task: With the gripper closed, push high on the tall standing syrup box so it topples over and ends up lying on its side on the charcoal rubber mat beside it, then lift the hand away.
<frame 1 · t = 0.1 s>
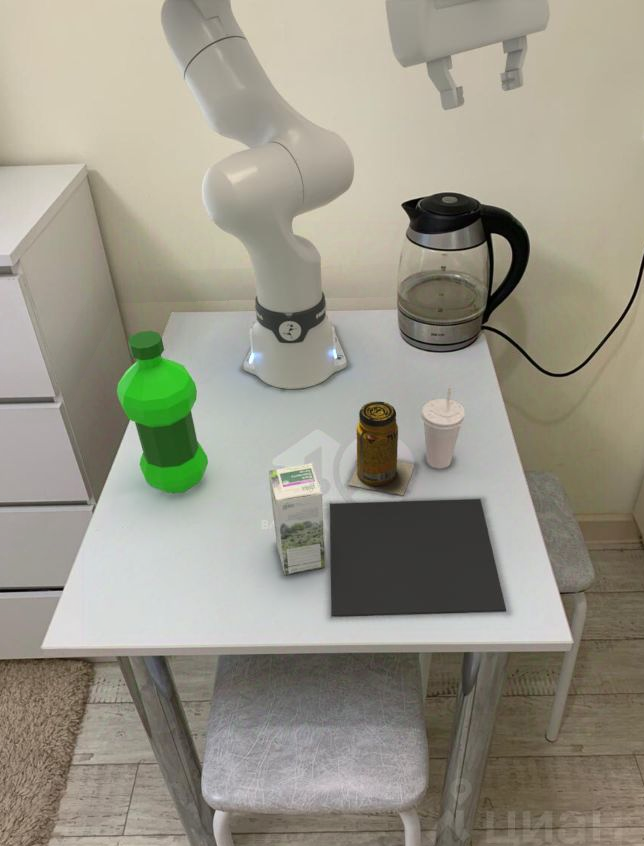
hand: (484, 98, 76), 52 cm above the table, tool tilted 20°, fingers open, 8 cm apart
plastic bottle: (178, 482, 110), on the table
mat: (411, 554, 98), on the table
condiment: (382, 476, 110), on the table
syrup box: (301, 558, 99), on the table
smoothie: (438, 461, 113), on the table
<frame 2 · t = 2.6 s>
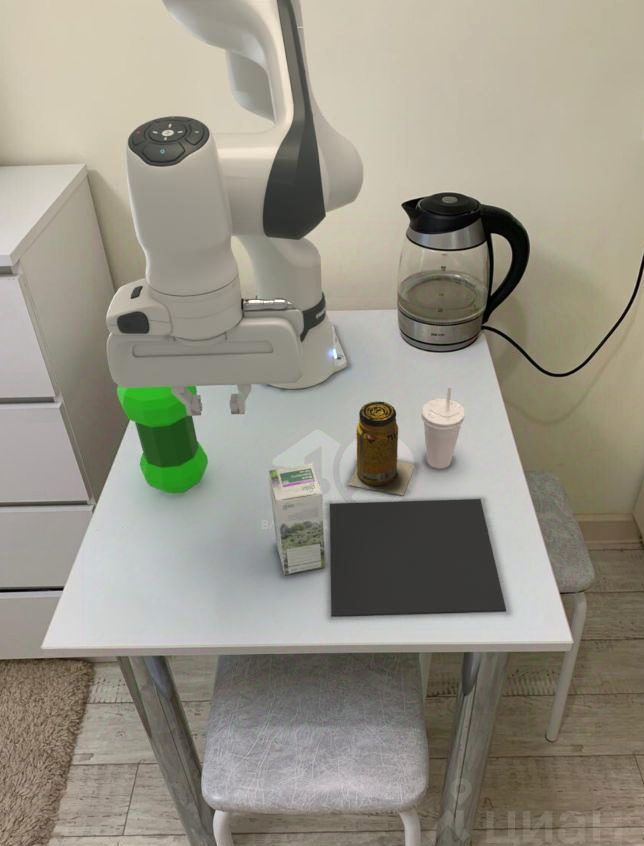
hand: (217, 412, 81), 25 cm above the table, tool pointing down, fingers open, 3 cm apart
nothing on the table moved.
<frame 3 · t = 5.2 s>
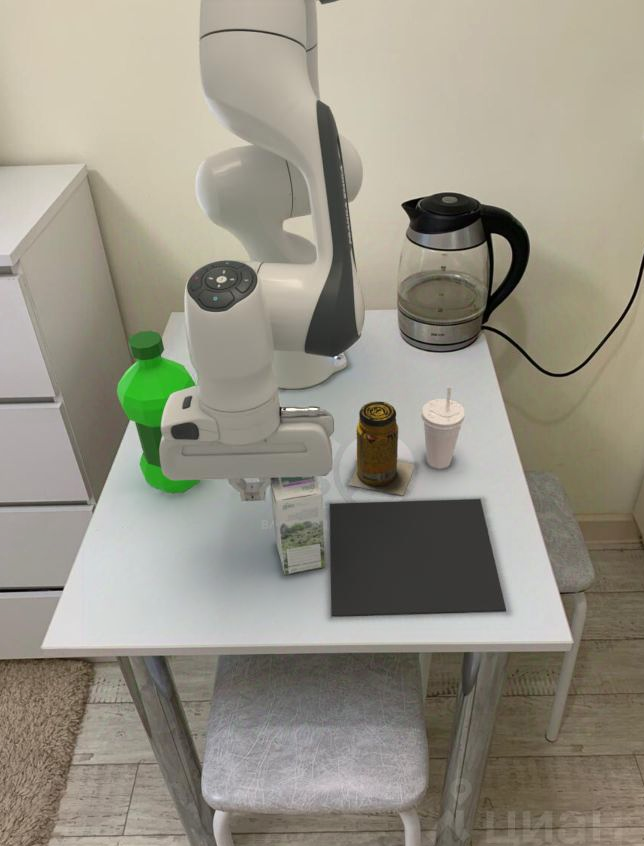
hand: (253, 497, 91), 12 cm above the table, tool pointing down, fingers closed
syrup box: (301, 558, 99), on the table, touching gripper
everything else where it was.
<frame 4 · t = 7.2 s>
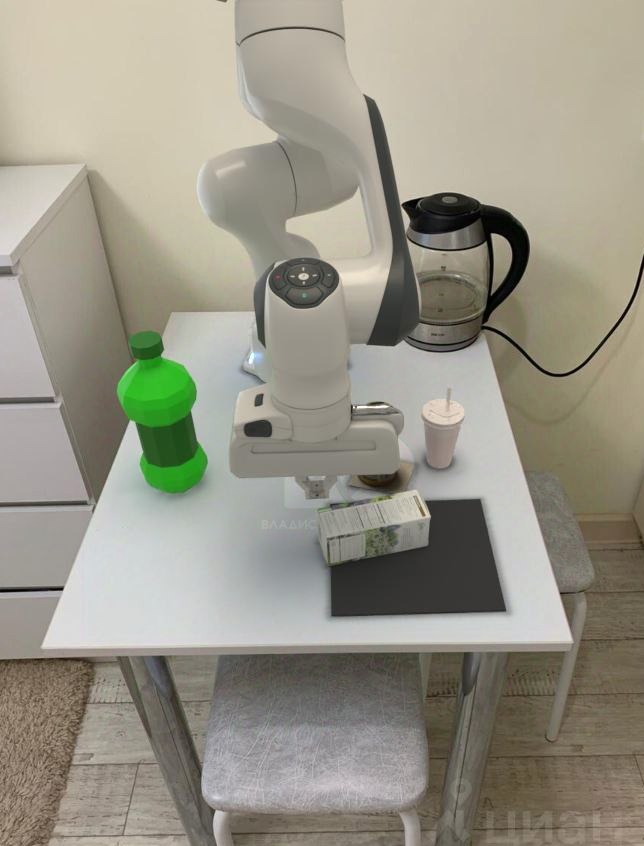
hand: (317, 495, 90), 12 cm above the table, tool pointing down, fingers closed
syrup box: (320, 538, 97), point 3 cm above the table, touching mat
everything else where it was.
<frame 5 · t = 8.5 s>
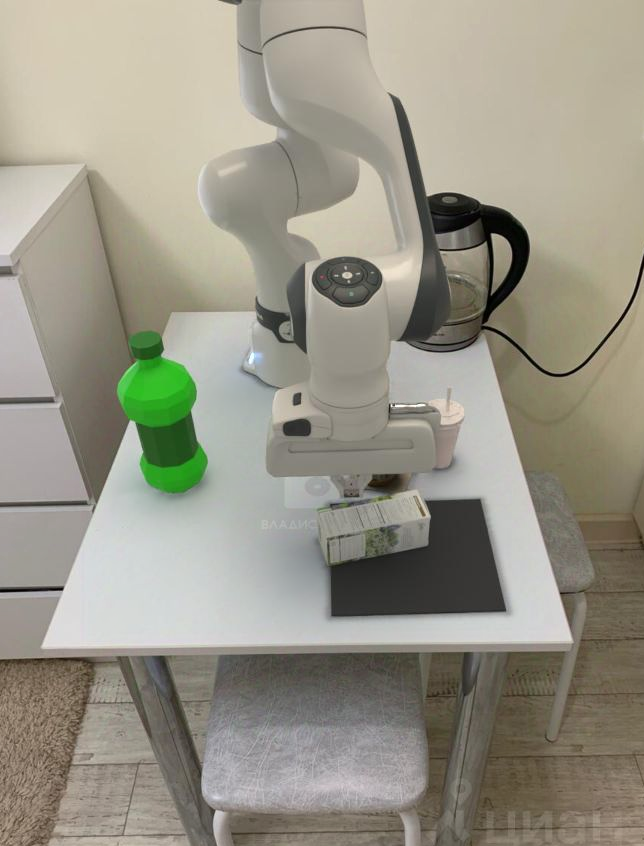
hand: (351, 494, 91), 12 cm above the table, tool pointing down, fingers closed
nothing on the table moved.
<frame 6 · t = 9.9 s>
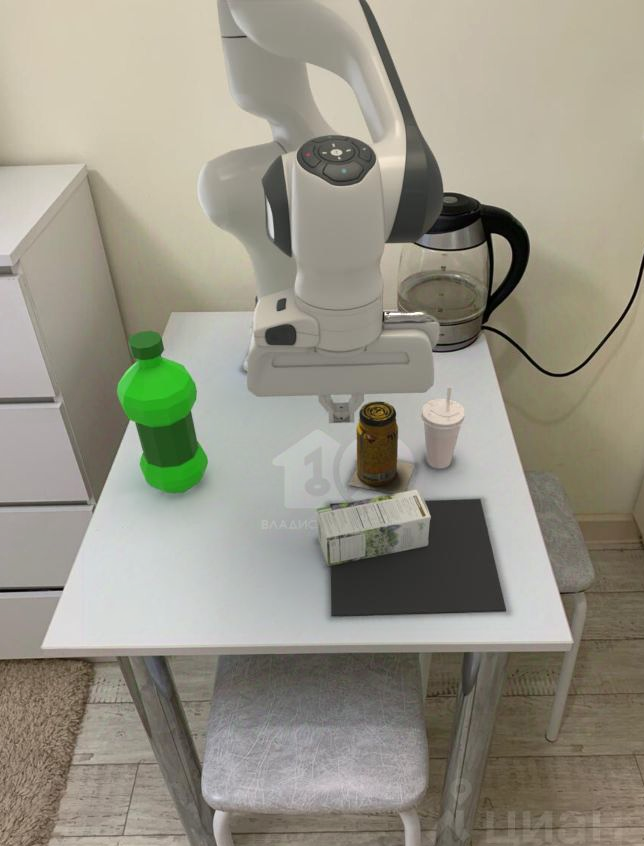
hand: (341, 419, 83), 23 cm above the table, tool pointing down, fingers closed
nothing on the table moved.
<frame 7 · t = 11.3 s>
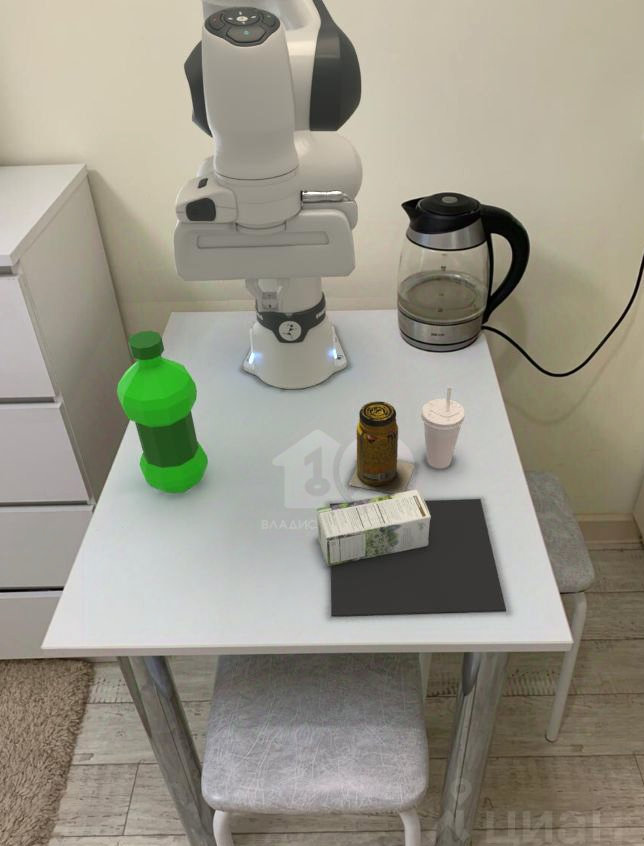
hand: (271, 309, 86), 31 cm above the table, tool pointing down, fingers closed
nothing on the table moved.
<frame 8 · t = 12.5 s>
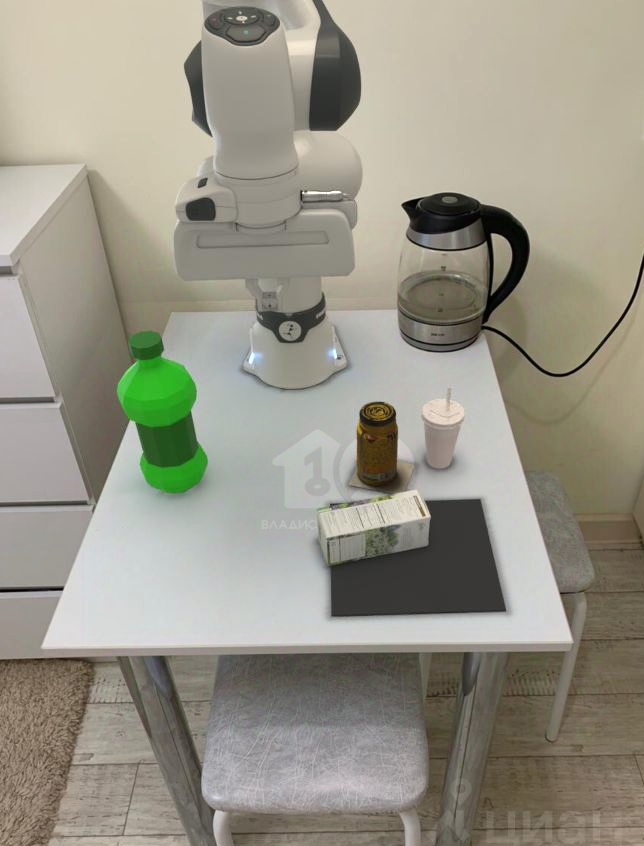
hand: (270, 309, 86), 31 cm above the table, tool pointing down, fingers closed
nothing on the table moved.
at the end: syrup box tilted 90°; syrup box touching mat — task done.
